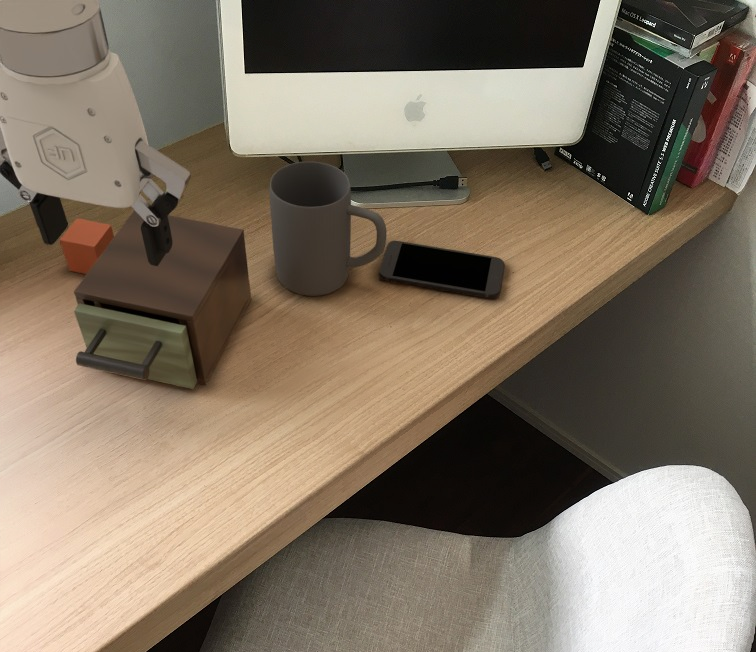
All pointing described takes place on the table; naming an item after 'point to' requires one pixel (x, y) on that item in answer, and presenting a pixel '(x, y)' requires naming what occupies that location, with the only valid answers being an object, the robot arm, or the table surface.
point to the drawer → (136, 344)
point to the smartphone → (442, 269)
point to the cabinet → (178, 282)
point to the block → (85, 244)
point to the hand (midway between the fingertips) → (108, 245)
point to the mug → (316, 228)
